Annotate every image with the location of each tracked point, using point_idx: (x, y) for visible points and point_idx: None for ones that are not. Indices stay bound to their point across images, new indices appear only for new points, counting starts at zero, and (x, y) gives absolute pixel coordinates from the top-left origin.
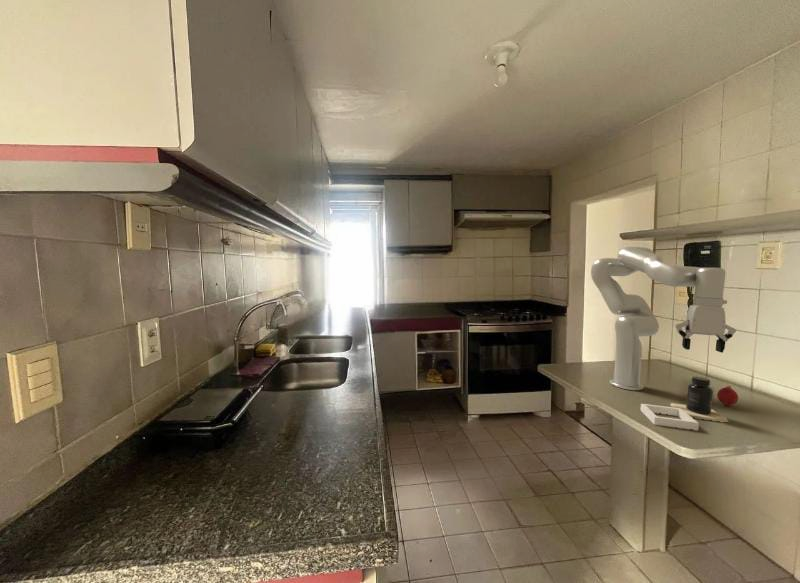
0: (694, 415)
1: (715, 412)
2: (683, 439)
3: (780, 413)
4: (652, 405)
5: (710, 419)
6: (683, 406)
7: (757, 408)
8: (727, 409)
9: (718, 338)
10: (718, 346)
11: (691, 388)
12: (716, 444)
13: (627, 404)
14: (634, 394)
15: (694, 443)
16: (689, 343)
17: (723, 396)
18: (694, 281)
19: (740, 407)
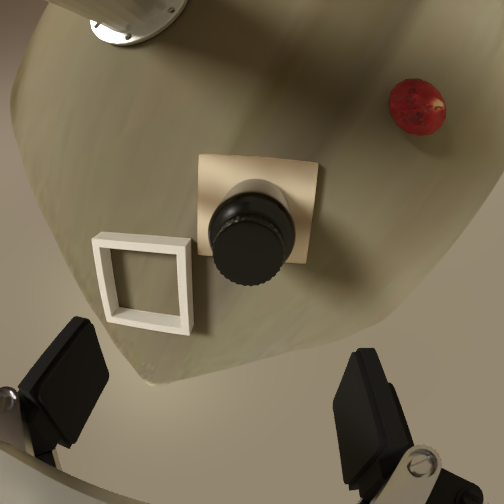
0: None
1: (309, 207)
2: (150, 360)
3: (495, 151)
4: (115, 244)
5: None
6: (227, 179)
7: (471, 120)
8: (385, 140)
9: (398, 464)
10: (348, 417)
11: (210, 246)
12: (200, 369)
13: (81, 196)
14: (126, 83)
15: (163, 370)
16: (84, 416)
17: (398, 119)
18: None
19: None
